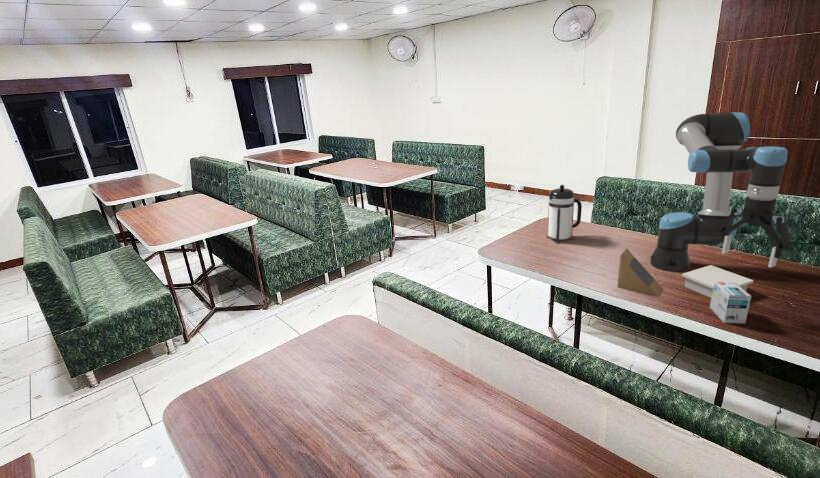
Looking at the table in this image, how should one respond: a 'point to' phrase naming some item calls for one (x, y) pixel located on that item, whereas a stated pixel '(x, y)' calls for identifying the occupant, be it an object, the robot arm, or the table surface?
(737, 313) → the light bulb box
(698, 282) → the podium
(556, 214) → the coffee press
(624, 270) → the sandwich container
